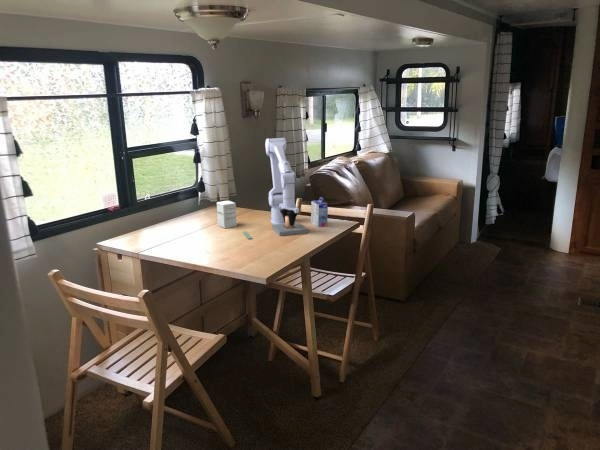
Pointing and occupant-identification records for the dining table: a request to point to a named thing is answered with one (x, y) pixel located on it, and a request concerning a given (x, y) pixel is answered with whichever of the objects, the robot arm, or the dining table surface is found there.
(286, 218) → the plug
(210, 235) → the dining table surface
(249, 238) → the mat
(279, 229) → the grey socket board
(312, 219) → the ink cartridge box
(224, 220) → the supplement box
